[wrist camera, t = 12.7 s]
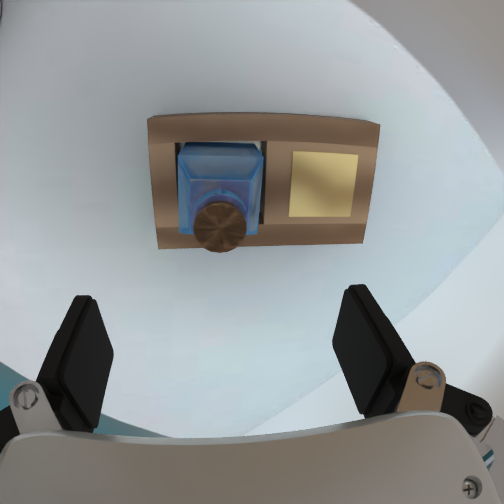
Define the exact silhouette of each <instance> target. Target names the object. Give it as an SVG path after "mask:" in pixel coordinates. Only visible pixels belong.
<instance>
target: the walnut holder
mask: <svg viewBox="0 0 504 504" xmlns="http://www.w3.org/2000/svg"><path fill="white" fill-rule="evenodd" d="M147 125H148V144H149V160H150V173H151V185H152V196H153V206H154V216H155V225H156V233H157V241H158V249H177V248H203V247H202V246H201V245H200V244H199V243H198V242H197V240H196V238H195V237H194V234H183V233H179V213H178V155H179V142H181V150H182V148H183V146H184V145H185V143H186V142H231V143H254V144H255V145H256V147H257V148H258V150H259V151H260V141H262V156H263V157H264V160H263V172H262V184H261V196H260V212H259V220H258V232H257V234H253V235H246V236H245V238H244V240H243V241H242V243H241V244H240V245H239V246H237V247H243V246H279V245H317V244H357V243H363V239H364V234H365V229H366V223H367V218H368V212H369V206H370V200H371V194H372V187H373V180H374V173H375V166H376V158H377V150H378V142H379V132H380V124H376V123H373V122H370V121H366V120H358V119H350V118H340V117H330V116H319V115H305V114H288V113H260V112H216V113H188V114H171V115H157V116H153V117H150V118H148V119H147Z"/></svg>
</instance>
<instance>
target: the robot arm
mask: <svg viewBox="0 0 504 504" xmlns="http://www.w3.org/2000/svg"><path fill="white" fill-rule="evenodd" d="M0 15H1V1H0ZM332 345H333V349H334V351H335V354H336V356H337V359H338V361H339V363H340V366H341V368H342V371H343V373H344V376H345V378H346V381H347V383H348V386H349V389H350V391H351V394H352V396H353V398H354V401H355V404H356V406H357V409H358V411H359V413H360V414H363V415H364V417H365V419H361V420H357V421H352V422H346V423H341V424H335V425H330V426H324V427H318V428H313V429H306V430H299V431H292V432H283V433H275V434H265V435H254V436H240V437H223V438H148V437H132V436H118V435H106V434H96V433H93V430H94V428H97V426H98V423H99V418H100V413H101V408H102V404H103V399H104V395H105V390H106V386H107V382H108V377H109V373H110V369H111V365H112V361H113V356H114V353H113V348H112V345H111V343H110V340H109V337H108V334H107V331H106V329H105V326H104V323H103V320H102V317H101V314H100V311H99V308H98V305H97V302H96V300H95V299H92V297H91V296H89V295H77V296H75V298H74V300H73V302H72V304H71V306H70V308H69V310H68V312H67V314H66V316H65V318H64V320H63V322H62V324H61V326H60V329H59V330H58V331H57V333H56V335H55V337H54V339H53V341H52V344H51V346H50V348H49V350H48V353H47V355H46V357H45V360H44V362H43V364H42V367H41V369H40V372H39V374H38V377H37V379H36V382H35V381H32V380H28V381H23V382H20V383H19V384H17V385H16V386H15V387H14V388H13V389H12V391H11V393H10V397H9V403H10V405H9V406H8V407H6V408H4V409H3V410H1V411H0V504H504V420H503V419H501V418H500V417H499V416H496V417H495V418H494V417H493V416H492V409H491V407H490V405H489V403H487V401H485V400H484V399H482V398H481V397H478V396H476V395H473V394H471V393H468V392H466V391H463V390H461V389H458V388H456V387H453V386H451V385H449V384H446V377H445V374H444V372H443V371H442V369H441V368H439V367H438V366H437V365H435V364H433V363H430V362H419V363H415V361H414V360H413V358H412V356H411V354H410V353H409V351H408V349H407V348H406V346H405V345H404V343H403V341H402V340H401V338H400V336H399V335H398V333H397V332H396V330H395V328H394V327H393V325H392V324H391V322H390V320H389V319H388V318H387V316H385V314H384V313H383V311H382V309H381V308H380V306H379V305H378V303H377V302H376V300H375V299H374V297H373V296H372V294H371V293H370V291H369V289H368V288H367V286H366V285H365V284H358V285H350V286H349V288H348V289H346V290H345V291H344V295H343V299H342V303H341V307H340V312H339V316H338V320H337V324H336V328H335V332H334V336H333V340H332Z"/></svg>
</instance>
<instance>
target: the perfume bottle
mask: <svg viewBox="0 0 504 504" xmlns="http://www.w3.org/2000/svg"><path fill="white" fill-rule="evenodd" d="M263 160H264V157H263V156H262V154H261V153H260V151H259V150H258V148H257V147H256V145H255V144H254V143H231V142H186V143H185V145H184V146H183V148H182V150H181V151H180V153H179V155H178V213H179V233H183V234H194V237H195V238H196V240H197V242H198V243H199V244H200V245H201V246H202V247H203V248H205V249H207V250H209V251H211V252H218V253H221V252H228V251H230V250H233V249H235V248H236V247H237V246H239V245H240V244H241V243H242V241H243V240H244V238H245V236H246V235H253V234H257V232H258V220H259V208H260V196H261V184H262V172H263Z"/></svg>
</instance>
